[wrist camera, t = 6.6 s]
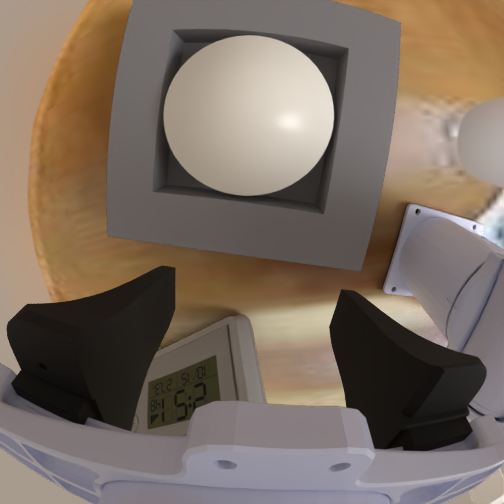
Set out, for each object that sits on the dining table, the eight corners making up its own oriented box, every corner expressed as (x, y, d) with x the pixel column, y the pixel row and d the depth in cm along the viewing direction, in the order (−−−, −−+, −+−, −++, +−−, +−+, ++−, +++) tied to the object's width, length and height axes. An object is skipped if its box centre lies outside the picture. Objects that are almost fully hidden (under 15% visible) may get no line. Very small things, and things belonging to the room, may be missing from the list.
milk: (446, 431, 34) (479, 525, 13) (474, 413, 32) (514, 504, 12) (448, 440, 35) (478, 526, 15) (474, 424, 34) (509, 507, 13)
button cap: (331, 63, 16) (342, 50, 13) (311, 196, 20) (319, 207, 17) (188, 47, 16) (176, 33, 13) (172, 179, 20) (156, 186, 17)
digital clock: (252, 302, 24) (243, 400, 15) (285, 371, 27) (290, 461, 18) (112, 341, 27) (68, 413, 17) (155, 396, 30) (130, 467, 20)
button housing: (382, 36, 15) (400, 22, 12) (348, 252, 22) (360, 271, 19) (152, 10, 15) (135, -6, 12) (127, 222, 22) (107, 236, 19)
